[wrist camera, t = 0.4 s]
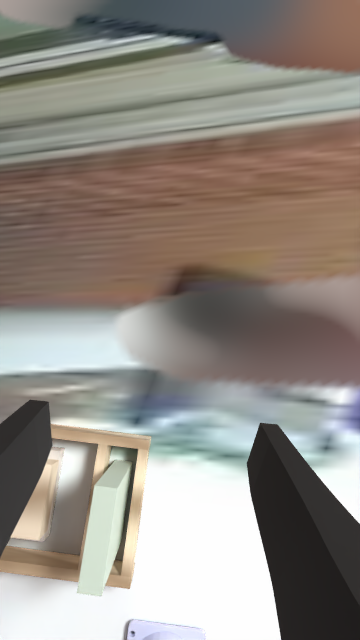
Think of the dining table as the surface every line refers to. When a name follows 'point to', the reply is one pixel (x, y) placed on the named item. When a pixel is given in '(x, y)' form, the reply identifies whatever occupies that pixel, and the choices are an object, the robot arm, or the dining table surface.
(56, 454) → the offcut lower
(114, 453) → the dining table surface
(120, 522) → the pale green slab
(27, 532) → the offcut upper
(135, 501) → the rack
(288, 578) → the robot arm
